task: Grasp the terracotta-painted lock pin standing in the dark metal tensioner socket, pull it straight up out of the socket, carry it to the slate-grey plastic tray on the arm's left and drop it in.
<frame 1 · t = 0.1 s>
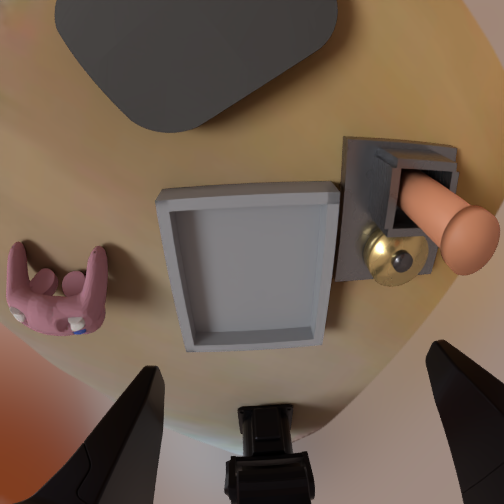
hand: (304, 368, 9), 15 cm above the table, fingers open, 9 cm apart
tray: (250, 268, 25), on the table
video game controller: (65, 268, 25), on the table
tensioner: (393, 210, 23), on the table
lock pin: (403, 183, 21), point 1 cm above the table, touching tensioner
media streaming box: (191, 3, 15), on the table
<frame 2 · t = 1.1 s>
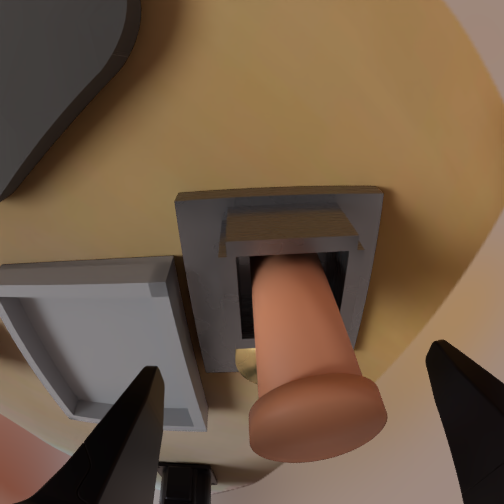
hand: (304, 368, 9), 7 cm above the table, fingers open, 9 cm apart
tray: (108, 348, 19), on the table
tensioner: (279, 288, 17), on the table
lock pin: (282, 257, 15), point 1 cm above the table, touching tensioner
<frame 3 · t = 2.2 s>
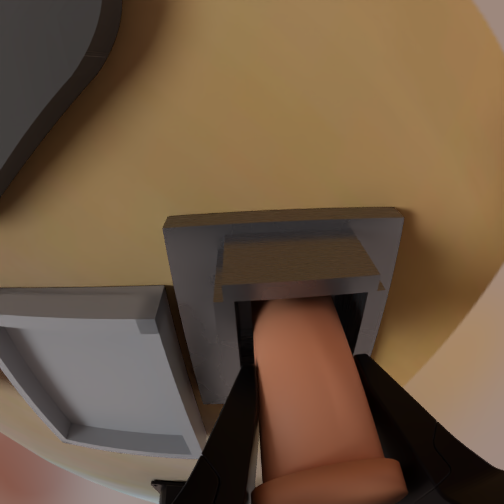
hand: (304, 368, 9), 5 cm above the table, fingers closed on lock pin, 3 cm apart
tray: (98, 376, 17), on the table
tensioner: (283, 319, 15), on the table
lock pin: (288, 289, 13), point 1 cm above the table, touching gripper, tensioner
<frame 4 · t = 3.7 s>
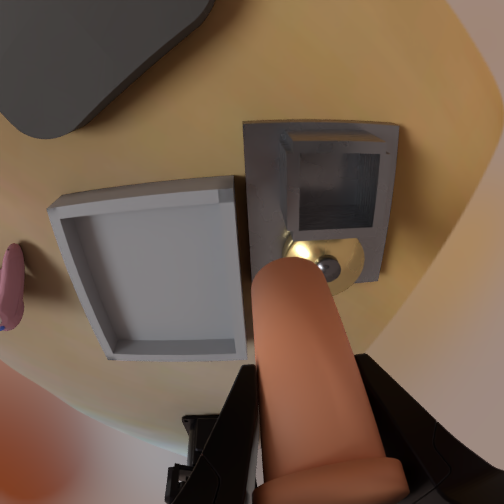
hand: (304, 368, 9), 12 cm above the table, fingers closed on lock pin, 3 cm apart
tray: (158, 275, 22), on the table
tensioner: (319, 206, 20), on the table
lock pin: (288, 289, 13), point 8 cm above the table, touching gripper
media streaming box: (77, 1, 12), on the table
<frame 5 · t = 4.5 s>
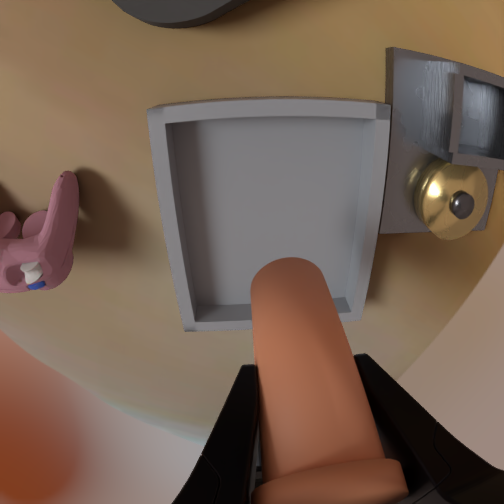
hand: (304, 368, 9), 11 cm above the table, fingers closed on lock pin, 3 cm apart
tray: (271, 215, 19), on the table
video game controller: (30, 210, 18), on the table
tensioner: (444, 146, 17), on the table
lock pin: (288, 289, 13), point 7 cm above the table, touching gripper
when the fingers open (6 cm above the table, at t = 5.3 s): lock pin drops 2 cm, resting on tray.
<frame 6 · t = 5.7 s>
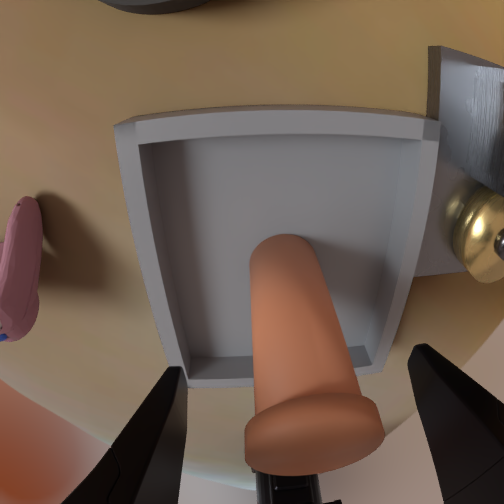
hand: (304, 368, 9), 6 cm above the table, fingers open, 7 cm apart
tray: (280, 256, 15), on the table
tensioner: (488, 170, 13), on the table
lock pin: (283, 263, 14), point 1 cm above the table, touching tray
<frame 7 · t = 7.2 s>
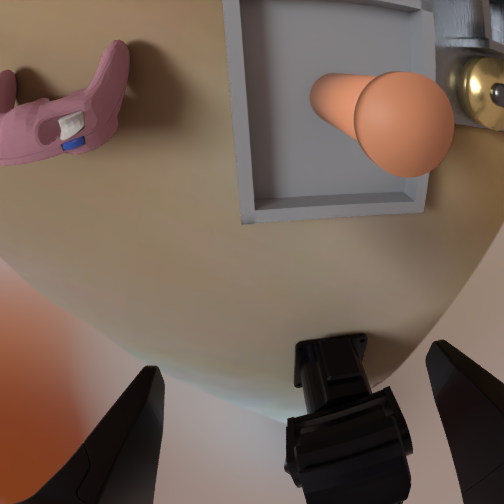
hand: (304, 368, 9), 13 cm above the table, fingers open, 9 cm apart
tray: (331, 97, 17), on the table
video game controller: (66, 97, 16), on the table
tensioner: (475, 52, 15), on the table
lock pin: (335, 98, 16), point 1 cm above the table, touching tray
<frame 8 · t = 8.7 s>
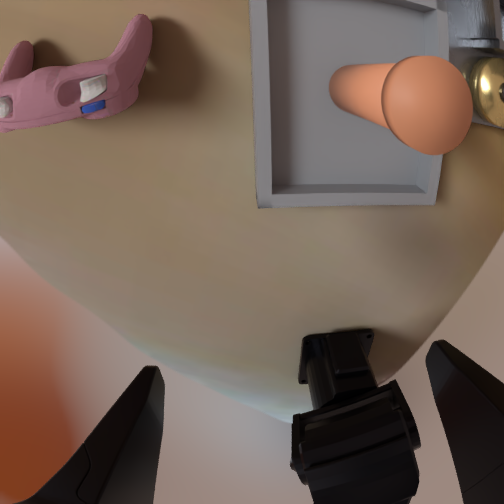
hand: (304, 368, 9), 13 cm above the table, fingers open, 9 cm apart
tray: (349, 88, 17), on the table
video game controller: (84, 70, 16), on the table
tensioner: (485, 53, 15), on the table
lock pin: (353, 89, 16), point 1 cm above the table, touching tray
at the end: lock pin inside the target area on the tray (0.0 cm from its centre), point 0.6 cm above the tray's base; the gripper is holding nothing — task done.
